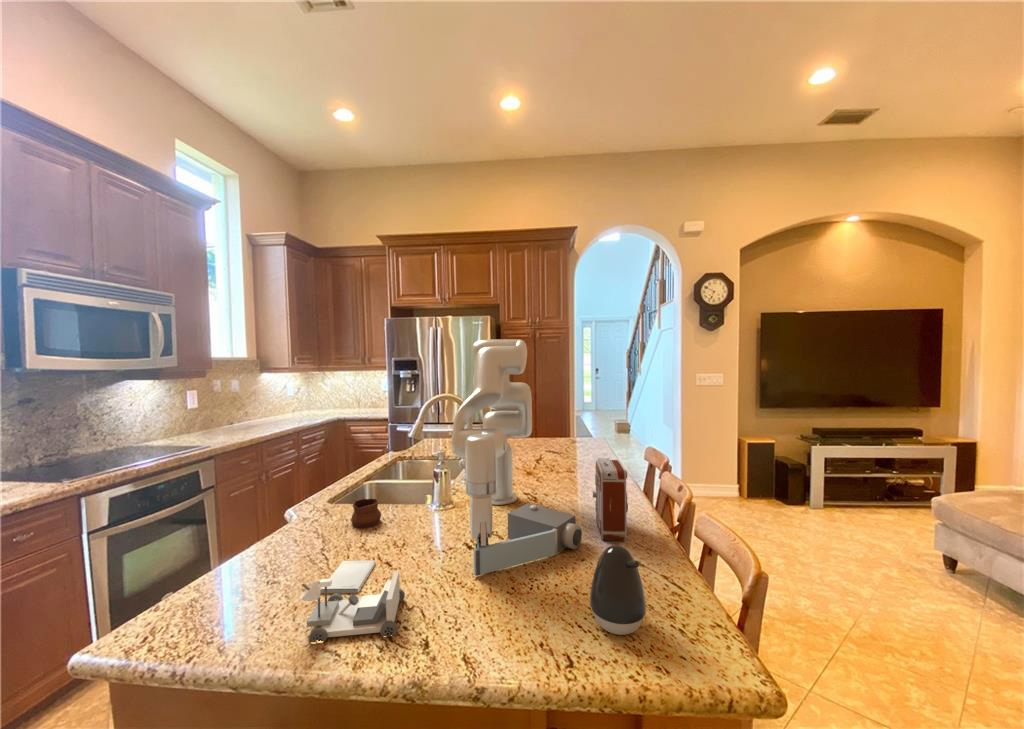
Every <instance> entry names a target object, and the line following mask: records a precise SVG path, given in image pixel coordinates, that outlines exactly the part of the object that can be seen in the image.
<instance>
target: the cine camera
mask: <svg viewBox="0 0 1024 729" xmlns="http://www.w3.org/2000/svg"><path fill="white" fill-rule="evenodd" d="M594 475H595V476H594V478H595V479H594V483H595V484H594V485H595V491H594V490H593V491H592V498H595V516H596V518H595V520H596V521H595V522H596V525H597V528H598V529H597V530H598V534H599V536H600V539H601V540H602V541H618V542H619V541H620V542H621V541H622V542H623V541H626V540H627V532H628V531H627V529H628V528H627V523H628V522H627V518H628V517H627V513H628V511H629V510H628V509H629V504H628V491H627V479H628V470H627V469H625V468H624V466H623V465H622V464H621V462H620V461H619V460H618V459H610V458H609V457H597V459H596V461H595V474H594Z"/></svg>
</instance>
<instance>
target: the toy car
mask: <svg viewBox="0 0 1024 729" xmlns="http://www.w3.org/2000/svg"><path fill="white" fill-rule="evenodd" d="M392 574H393V575H392V579H388V578H387V580H386V581H385V584H384V585H383V586H384V587H383V588H382V591H381V592H380V594H367V595H362V596H361V597H357V595H356V594H355V593H351V594H350V595H349V597H348V598H346V599H344V597H343V596H342V594H341V593H339V594H330V596H329V597H328V594H327V587H329V586H331V584H332V579H329V578H324V579H323V578H322V579H320V581H318V579H315V580H314V581H313V582H312V583H311V584H309V586H308V585H306V584H305V583H301V584H302V585H301V586H302V587H303V588H304V589H305V591H304V592H303V593H302V594H301V595H300V598H299V600H301V601H308V602H315V601H317V603H316V605H315V606H314V607H313V610H312V611H311V613H310V615H309V617H308V619H307V621H306V628H309V627H310V628H312V627H313V628H314V627H316V628H314V629H312V630H311V632H310V633H309V636H308V642H309V644H310V643H311V642H315V641H316V640H318V641H320V639H321V641H325V642H327V641H326V640H327V639H328V638H336V637H345V636H356V635H364V634H365V635H366V634H374V633H380V636H381V637H382V636H391V635H392V636H394V637H395V636H397V634H398V630H399V628H398V624H397V623H396V616H397V612H398V607H399V604H400V603H402V602H403V601H404V600H405V597H406V596H405V595H406V593H405V591H404V590H403V589H401V588H400V571H399V570H397V571H396V570H395V571H393V573H392ZM322 587H325V594H324V601H321V595H322V594H321V591H320V590H321V588H322Z"/></svg>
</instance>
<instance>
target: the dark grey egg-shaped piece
mask: <svg viewBox="0 0 1024 729" xmlns="http://www.w3.org/2000/svg"><path fill="white" fill-rule="evenodd" d="M639 567H640V563H639V561H637V560H635V559H634V557H633V555H632V553H631V551H629V549H628V548H626V546H624V545H621V544H617V543H616V544H610V545H609V546H607V547H606V548H605V549H604V550H603V551H602V553H601V554H600V556H599V559H598V561H597V564H596V567H595V569H594V573H593V575H592V576H593V577H592V582H591V587H590V595H589V606H590V609H591V610H592V613H593V616H594V618H595V620H596V622H597V623H598V625H599V626H600V627H601V628H602V629H604V631H606V632H609V633H610V634H613V635H618V636H621V635H622V636H625V635H629V634H633V633H634V632H636V631H637V630H638V629H639V627H640V626H641V625H642V622H643V619H644V617H645V616H646V612H647V607H646V606H647V604H646V597H645V590H644V585H643V582H642V578H641V574H640V572H639Z"/></svg>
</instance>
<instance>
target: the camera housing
mask: <svg viewBox="0 0 1024 729" xmlns="http://www.w3.org/2000/svg"><path fill="white" fill-rule="evenodd" d="M576 516H577V515H575V514H571V513H569V512H565V511H560V510H556V509H552V508H549V507H544V506H542V505H538V504H533V503H530V502H527V503H526V504H524V505H522V506H520V507H518V508H516V509H513V510H512V511H510V512H507V539H508V540H512V539H516V538H520V537H525V536H529V535H533V534H537V533H542V532H546V531H550V530H552V529H557V555H558V554H559V553H561V552H562V551H564V550H565V549H567V548H569V549H572V550H577V549H578V547H579V546H580V544H581V541H582V536H583V530H582V527H581V526H580V525H579V524H577V523H576V521H577V520H576V519H577V518H576Z"/></svg>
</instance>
